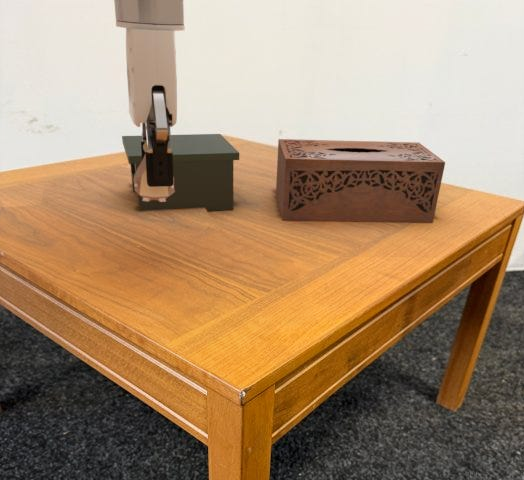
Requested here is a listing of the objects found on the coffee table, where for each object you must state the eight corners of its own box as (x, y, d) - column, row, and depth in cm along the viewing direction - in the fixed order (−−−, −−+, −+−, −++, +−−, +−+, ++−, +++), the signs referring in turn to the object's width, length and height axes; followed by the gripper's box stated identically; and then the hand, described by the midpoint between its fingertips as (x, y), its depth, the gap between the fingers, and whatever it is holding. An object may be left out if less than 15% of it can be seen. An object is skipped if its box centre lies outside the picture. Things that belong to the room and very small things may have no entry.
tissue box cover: (282, 220, 92) (285, 158, 86) (275, 194, 104) (278, 139, 98) (432, 222, 93) (445, 162, 88) (409, 196, 106) (418, 142, 100)
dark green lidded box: (133, 215, 91) (128, 156, 86) (127, 189, 103) (121, 135, 98) (238, 209, 96) (239, 152, 91) (220, 185, 108) (220, 133, 103)
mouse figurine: (175, 184, 76) (174, 133, 73) (174, 202, 70) (174, 147, 66) (137, 182, 75) (134, 131, 72) (133, 201, 69) (130, 145, 65)
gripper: (111, 8, 66) (123, 162, 76) (120, 14, 53) (133, 201, 63) (173, 12, 68) (177, 162, 78) (197, 18, 55) (198, 199, 64)
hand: (157, 177), depth 70 cm, fingers closed on mouse figurine, 4 cm apart
